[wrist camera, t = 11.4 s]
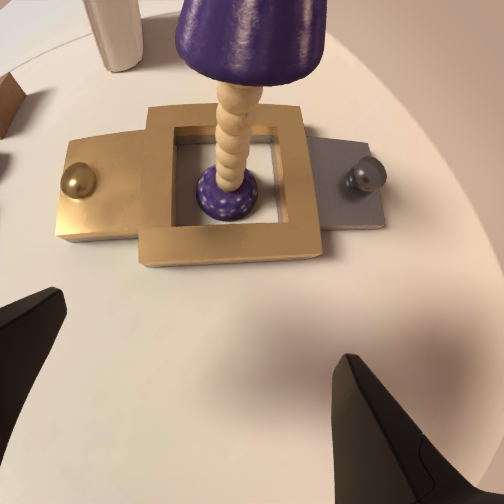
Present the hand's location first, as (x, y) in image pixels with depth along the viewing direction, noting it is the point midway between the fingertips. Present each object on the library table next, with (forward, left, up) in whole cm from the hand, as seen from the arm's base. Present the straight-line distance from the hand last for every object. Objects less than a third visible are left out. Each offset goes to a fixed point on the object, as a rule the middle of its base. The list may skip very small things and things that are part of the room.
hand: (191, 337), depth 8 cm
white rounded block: (-3, +27, -11) cm, 30 cm away
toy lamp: (+3, +8, -11) cm, 14 cm away
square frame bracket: (+4, +8, -10) cm, 14 cm away
